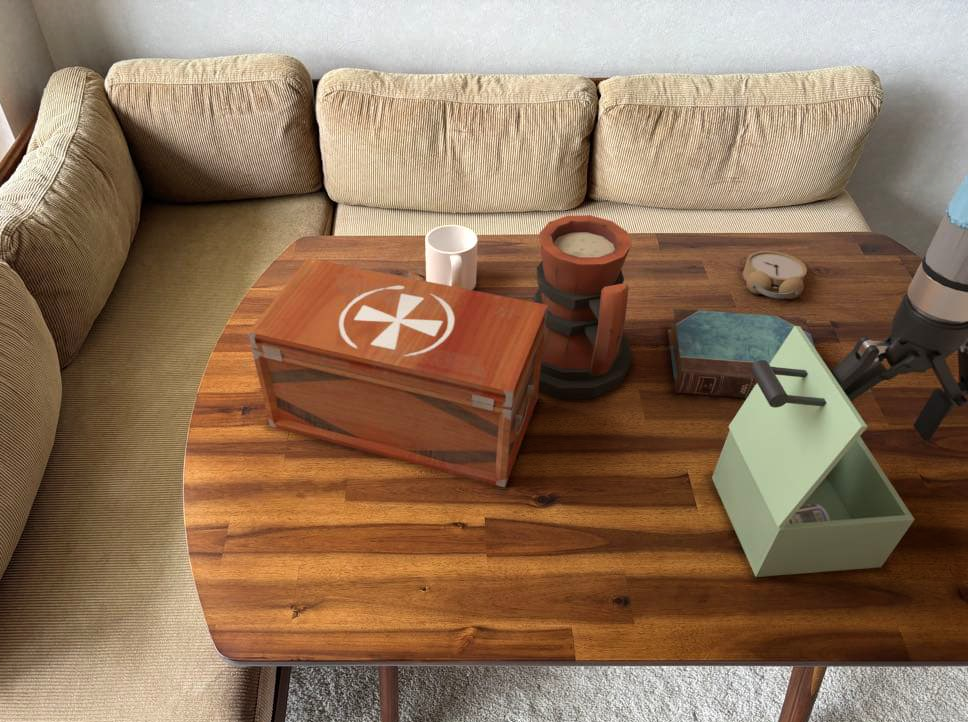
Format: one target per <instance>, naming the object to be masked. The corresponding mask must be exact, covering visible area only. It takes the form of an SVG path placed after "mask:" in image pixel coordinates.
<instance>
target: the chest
mask: <svg viewBox="0 0 968 722" xmlns="http://www.w3.org/2000/svg"><path fill="white" fill-rule="evenodd" d="M711 479H712V482H713V484H714V486H715V489H716V491H717V493H718V496H719V498H720V500H721V502H722V504H723V506H724V509H725V512H726V513H727V516H728V518H729V521H730V523H731V525H732V527H733V530H734V531H735V534H736V537H737V539H738V540H739V543H740V546H741V547H742V550H743V552H744V554H745V556H746V559H747V561H748V564H749V565H750V567H751V570H752V572H753V575H754V576H755V578H760V577H773V576H775V577H776V576H783V575H784V576H787V575H788V576H789V575H799V574H812V573H825V572H837V571H850V570H851V571H852V570H862V569H864V570H865V569H875V568H882V567H883V565H884V564H885V562H886V561H887V559H888V558H889V557H890V556H891V554H892V553H893V551H894V549H895V548H896V547H897V546H898V544H899V543H900V541H901V540H902V538H903V537H904V536H905V534H906V532H907V531H908V530H909V528H910V527H911V526H912V524H913V523H914V521H915V517H914V516H913V515H912V513H911V512H910V510H909V509H908V507H907V505H906V504H905V502H904V501H903V500H902V498H901V496H900V495H899V493H898V492H897V490H896V488H895V487H894V485H893V484H892V483H891V481H890V479H889V478H888V477H887V475H886V473H885V472H884V470H883V469H882V468H881V466H880V464H879V463H878V461H877V459H875V457H874V455H873V454H872V452H871V451H870V449H869V448H868V446H867V445H866V443H865V441H864V440H863V438H862V437H861V436H860V437H859V438H858V439H857V440H856V441H855V443H854V444H853V445H852V446H851V447H850V449H849V450H848V451H847V452H846V453H845V455H844V456H843V457H842V458H841V459H840V461H839V462H838V463H837V464H836V465H835V467H834V468H833V469H832V470H831V471H830V473H829V474H828V475H827V476H826V477H825V479H824V480H823V481H822V482H821V483H820V485H819V486H818V487H817V488H816V489H815V490H814V492H813V493H812V494H811V495H810V496H809V498H808V499H807V500H806V501H805V502H804V504H803V505H802V506H804V505H810V504H818V505H820V506H822V507H823V508H824V509H825V510H826V512H827V514H828V516H829V519H830V521H821V522H808V523H795V524H786V525H785V526H784V528H781V527H778V526H777V524H776V522H775V520H774V518H773V516H772V514H771V512H770V510H769V508H768V506H767V504H766V502H765V500H764V498H763V496H762V494H761V492H760V490H759V488H758V486H757V484H756V482H755V480H754V478H753V476H752V474H751V472H750V470H749V468H748V466H747V464H746V462H745V460H744V458H743V455H742V453H741V451H740V449H739V447H738V445H737V443H736V441H735V439H734V437H733V435H732V433H731V431H730V430H729V431H728V434H727V436H726V438H725V442H724V445H723V447H722V449H721V452H720V455H719V457H718V459H717V462H716V465H715V468H714V471H713V473H712V476H711Z"/></svg>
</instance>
